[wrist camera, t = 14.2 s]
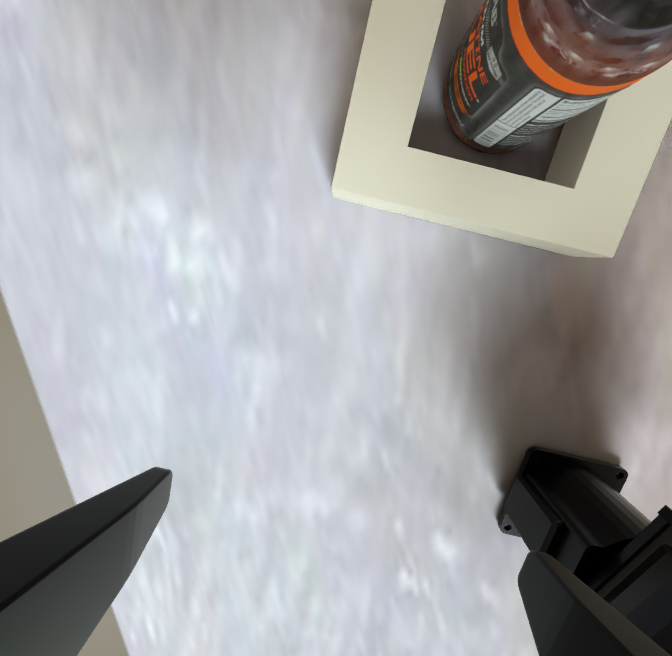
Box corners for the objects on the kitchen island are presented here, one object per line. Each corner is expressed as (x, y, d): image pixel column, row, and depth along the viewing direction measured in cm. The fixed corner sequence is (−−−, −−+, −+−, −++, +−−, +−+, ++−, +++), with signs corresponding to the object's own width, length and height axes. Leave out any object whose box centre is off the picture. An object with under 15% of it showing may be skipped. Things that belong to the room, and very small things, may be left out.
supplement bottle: (438, 34, 17) (614, -369, 6) (559, 21, 17) (977, -423, 6) (439, 162, 18) (585, 27, 7) (552, 152, 18) (878, -3, 7)
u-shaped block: (657, 36, 17) (724, -9, 14) (572, 256, 19) (613, 257, 16) (385, -37, 16) (394, -99, 13) (333, 197, 19) (331, 187, 16)
